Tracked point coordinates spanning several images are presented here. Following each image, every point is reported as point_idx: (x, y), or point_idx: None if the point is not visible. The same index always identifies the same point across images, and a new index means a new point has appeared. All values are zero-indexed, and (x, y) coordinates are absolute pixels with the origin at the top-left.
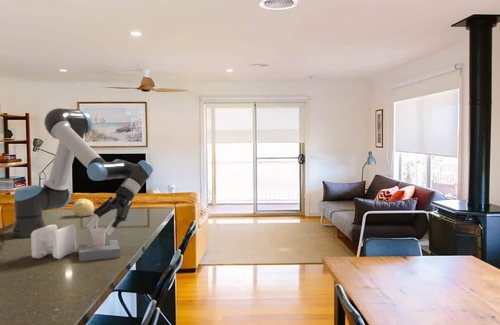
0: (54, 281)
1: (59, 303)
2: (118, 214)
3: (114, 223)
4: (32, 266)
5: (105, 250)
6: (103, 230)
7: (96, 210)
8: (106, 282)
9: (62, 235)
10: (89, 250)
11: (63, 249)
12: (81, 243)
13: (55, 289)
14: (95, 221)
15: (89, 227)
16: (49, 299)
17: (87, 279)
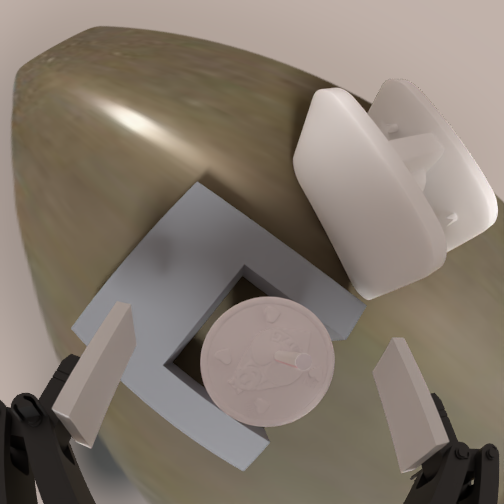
0: (127, 83)
1: (55, 64)
2: (32, 457)
3: (62, 374)
4: (296, 111)
5: (114, 274)
6: (204, 362)
7: (483, 469)
8: (17, 142)
9: (337, 143)
10: (179, 227)
11: (317, 190)
12: (343, 303)
13: (94, 72)
14: (400, 420)
15: (385, 360)
16: (78, 59)
17: (61, 125)
